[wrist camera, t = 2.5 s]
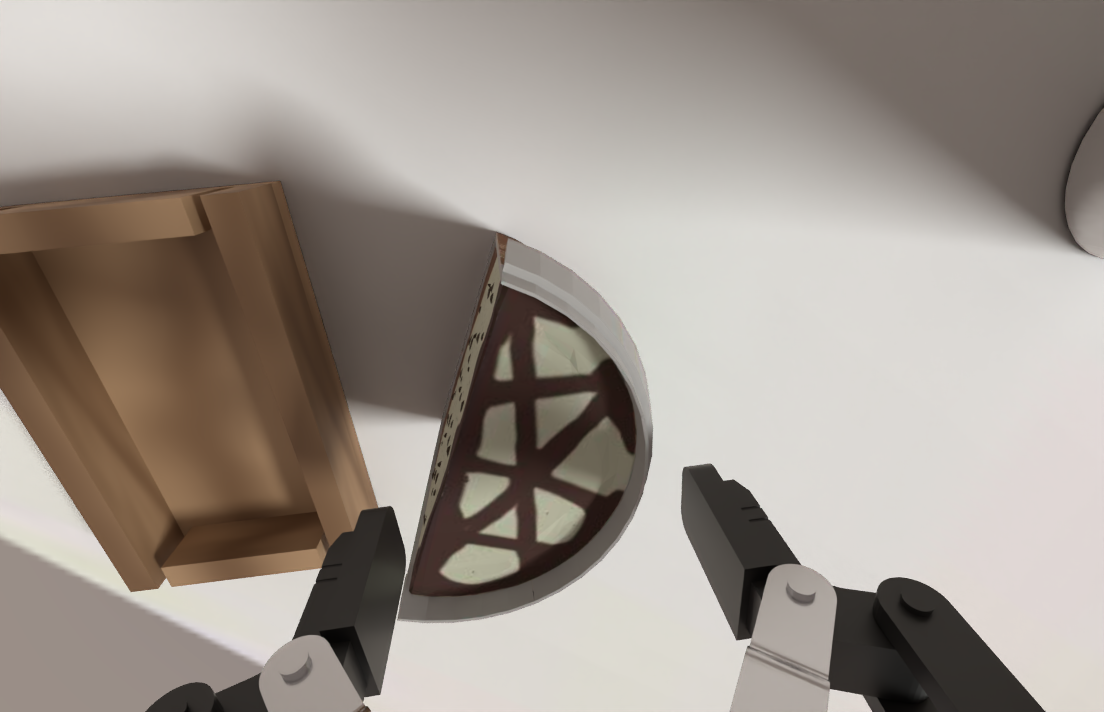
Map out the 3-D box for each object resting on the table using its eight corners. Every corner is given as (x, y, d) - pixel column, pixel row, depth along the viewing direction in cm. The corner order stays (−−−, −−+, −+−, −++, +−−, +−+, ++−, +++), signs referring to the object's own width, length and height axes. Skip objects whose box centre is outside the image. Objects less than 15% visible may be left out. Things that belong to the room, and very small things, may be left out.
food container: (552, 470, 26) (578, 658, 17) (434, 443, 24) (393, 632, 15) (646, 243, 21) (752, 334, 12) (506, 195, 20) (508, 258, 11)
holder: (280, 180, 19) (238, 192, 16) (379, 511, 26) (363, 562, 23) (-7, 207, 18) (-105, 223, 15) (174, 537, 25) (130, 592, 22)
